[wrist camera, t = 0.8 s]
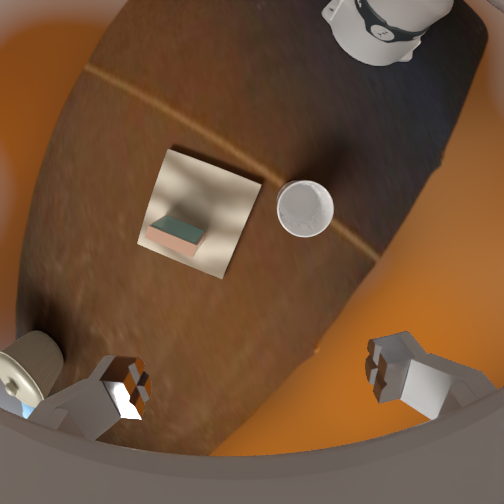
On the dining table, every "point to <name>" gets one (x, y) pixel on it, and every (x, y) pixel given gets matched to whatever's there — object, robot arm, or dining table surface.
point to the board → (201, 208)
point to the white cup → (304, 208)
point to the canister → (31, 367)
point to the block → (176, 235)
